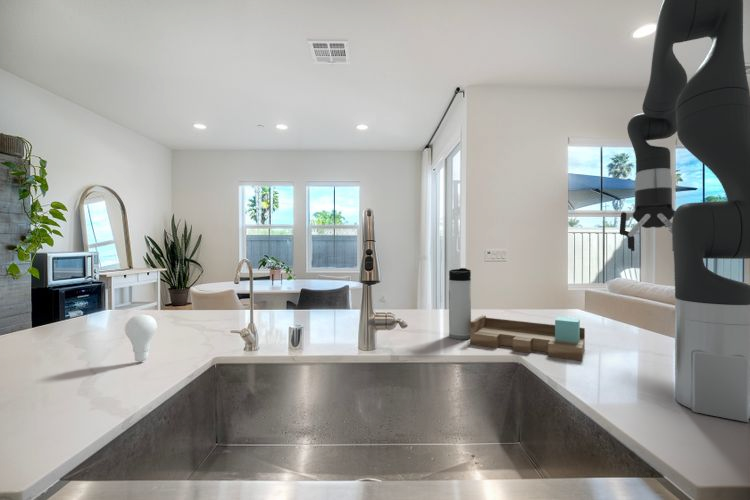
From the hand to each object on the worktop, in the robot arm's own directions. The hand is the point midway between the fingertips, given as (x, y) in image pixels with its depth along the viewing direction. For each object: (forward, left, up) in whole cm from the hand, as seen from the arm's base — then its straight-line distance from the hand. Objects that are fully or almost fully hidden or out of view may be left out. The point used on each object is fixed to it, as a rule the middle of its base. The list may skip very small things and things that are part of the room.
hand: (653, 251), depth 90 cm
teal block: (-16, +18, -22) cm, 33 cm away
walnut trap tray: (-17, +28, -25) cm, 41 cm away
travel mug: (-17, +46, -25) cm, 55 cm away
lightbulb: (-79, +99, -25) cm, 129 cm away
